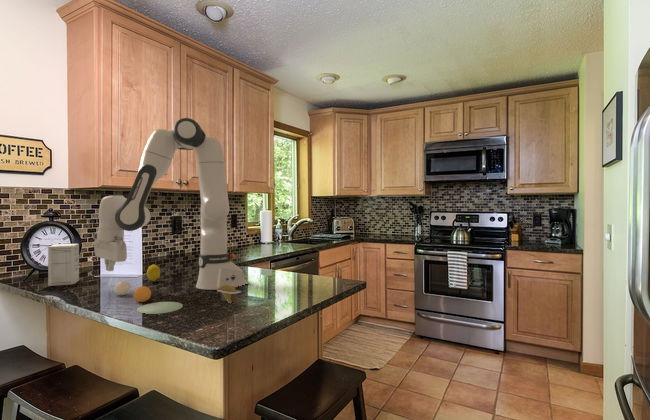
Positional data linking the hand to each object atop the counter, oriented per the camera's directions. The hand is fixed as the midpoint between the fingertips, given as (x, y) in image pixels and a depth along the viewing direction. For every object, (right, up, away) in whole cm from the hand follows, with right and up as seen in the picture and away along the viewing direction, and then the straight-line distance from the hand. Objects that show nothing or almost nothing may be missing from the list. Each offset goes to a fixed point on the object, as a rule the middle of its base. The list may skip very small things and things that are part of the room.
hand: (109, 270), depth 140 cm
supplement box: (-28, -8, +14) cm, 32 cm away
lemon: (+8, -9, +19) cm, 23 cm away
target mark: (+30, -9, -21) cm, 38 cm away
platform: (+50, -10, -13) cm, 53 cm away
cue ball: (+8, -6, -5) cm, 11 cm away
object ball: (+20, -6, -14) cm, 25 cm away
